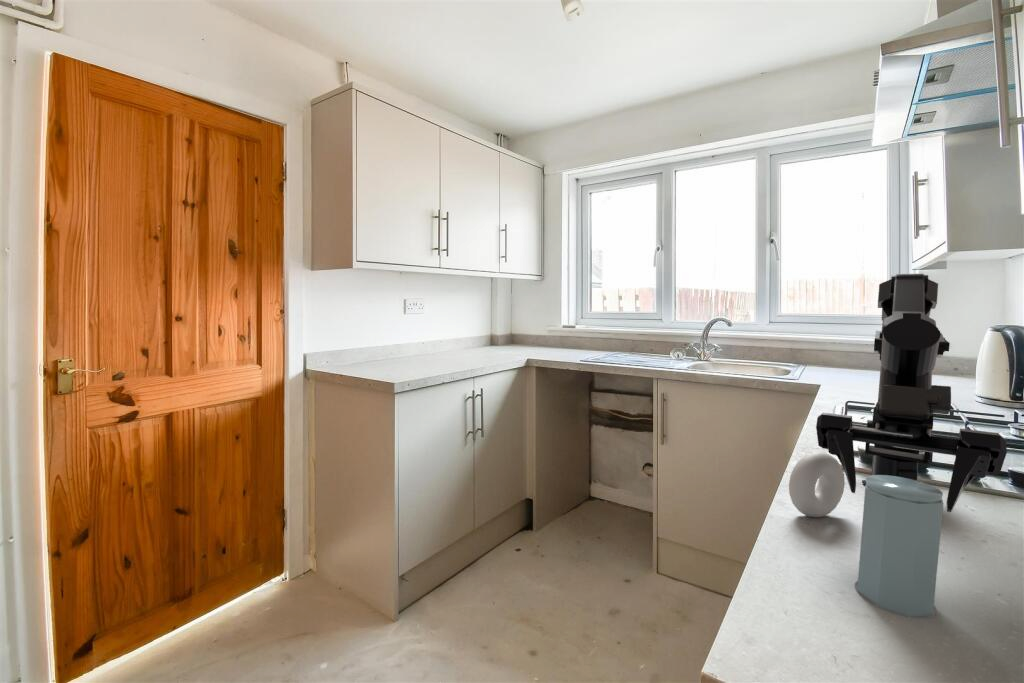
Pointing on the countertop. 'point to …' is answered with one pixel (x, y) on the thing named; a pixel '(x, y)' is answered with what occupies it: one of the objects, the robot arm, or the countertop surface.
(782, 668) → the countertop surface
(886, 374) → the robot arm
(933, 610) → the slate coaster
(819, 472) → the donut
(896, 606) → the dome-topped hexagonal post
